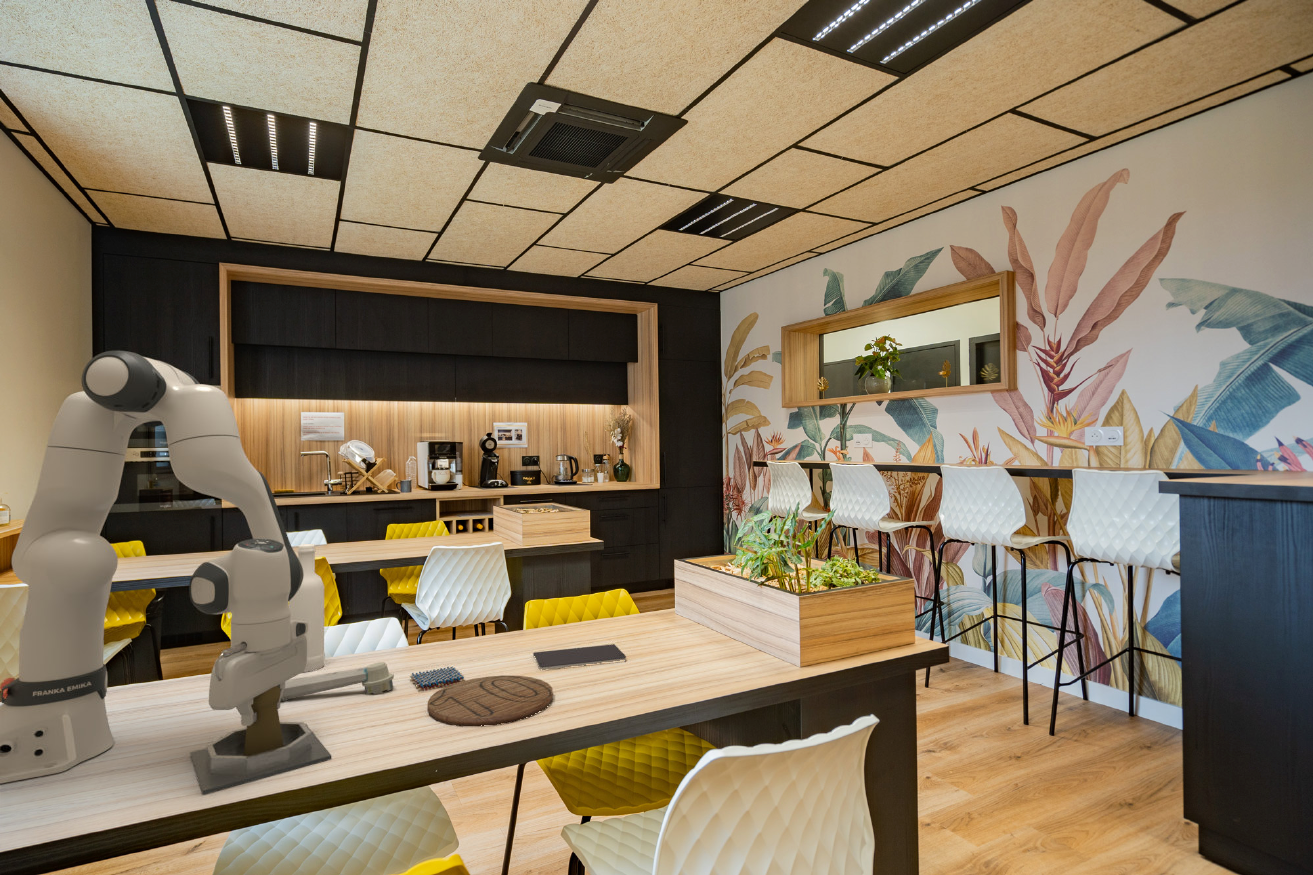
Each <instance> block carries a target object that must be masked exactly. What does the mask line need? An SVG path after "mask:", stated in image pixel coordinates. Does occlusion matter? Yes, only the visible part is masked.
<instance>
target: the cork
mask: <svg viewBox="0 0 1313 875" xmlns="http://www.w3.org/2000/svg"><path fill="white" fill-rule="evenodd" d="M279 699H280V690H279V688H278V687H277V686H275V687H273V688H271V689H269V690H268V691H266V692H264V693H262V694H260V695H258V696H256V697H254V698H253V704H252V705H251V707H252V710H253V712H257V717H256V718H257V721H256V722H255V723H253V724H252V725H250V726H246V728H247V730H246V738H245V746H244V753H243V756H251V755H255V754H259V753H263V752H266V751H270V750H274V749H278V748H282V747H284V743H283V737H282V731H281V726H280V722H281V720H280V714H279V709H278V708H277V703H278V701H279Z"/></svg>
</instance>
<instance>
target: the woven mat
mask: <svg viewBox="0 0 1313 875" xmlns="http://www.w3.org/2000/svg"><path fill="white" fill-rule="evenodd" d="M409 678H411V679H409V681H411V684H413V685H414V686H415V688H416V689H417V691H418V692H424V690H425V691H430V690H435V689H439V688H441V689H442V688H445V687H447V686H449V685H452V684H455V683H458V682H462V681H466V679H464V678H465V675H464V674H462V673H461V671H459V669H456V667H453V666H450V667H449V666H447V667H444V668H442V667H441V668H439V669H433V670H432V669H431V670H429V671H428V670H426V671H422V672H421V671H419V672H416V673H415V674H414V672H412V673H411V675H409ZM416 685H417V686H416Z"/></svg>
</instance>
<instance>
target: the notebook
mask: <svg viewBox="0 0 1313 875" xmlns="http://www.w3.org/2000/svg"><path fill="white" fill-rule="evenodd" d="M532 654H533V656H535V657H534V659H535V658H536V659H535V662H536V664H537V663H538V664H537V665H539V666H538V668H539V667H540V668H539V669H542V670H546V669H555V670H559V669H558V668H564V669H566V668H565V667H571V666H582V665H586V664H597V663H602V662H613V661H620V660H625V661H626V658H627V656H626V655H625V653H623V651H621V649H619V646H617V645H616V644H615V643H611V644H602V645H594V646H586V647H583V646H582V647H575V648H565V649H553V650H546V651H544V650H543V651H535V652H532ZM582 667H583V666H582ZM546 671H547V670H546Z"/></svg>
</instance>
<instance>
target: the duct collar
mask: <svg viewBox="0 0 1313 875" xmlns="http://www.w3.org/2000/svg"><path fill="white" fill-rule="evenodd" d="M280 726H281V731H282V737H283V743H284V747H282V748H278V749H274V750H270V751H266V752H263V753H259V754H255V755H251V756H243V753H244V746H245V738H246V730H247V727H244V728H240V729H236V730H232V731H230V732H228V733H226V734H225V735H222V736H221V737H219V738H218V739H215V740H214V741H212V742H210V743H208V744H207V745H206V747H205V748H202V749H198V750H193V751H190V752H189V757H190V760H191V764H192V767H193V770H194V772H195V775H196V778H197V782H198V784H199V787H200V791H201V794H202V796H204V795H208V794H211V793H214V792H219V791H222V790H225V789H229V788H232V787H236V786H240V785H243V784H246V783H251V782H255V781H258V780H262V779H264V778H268V777H271V776H276V775H279V774H283V773H286V772H290V771H294V770H297V769H299V768H304V767H307V766H311V765H314V764H315V765H316V764H318V763H322V762H326V761H329V760H332V754H331V753H330V752H329V750H328V749H327V748H326V747H325V745H324V744H323V743H322V742H321V740H320V739H318V737H317V736H316V734H315V733H314V732H313V731H312V730H311V728H310V727H309V726H308V725H307V724H306V723H305V722H303V721H301V722H300V721H280Z"/></svg>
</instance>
